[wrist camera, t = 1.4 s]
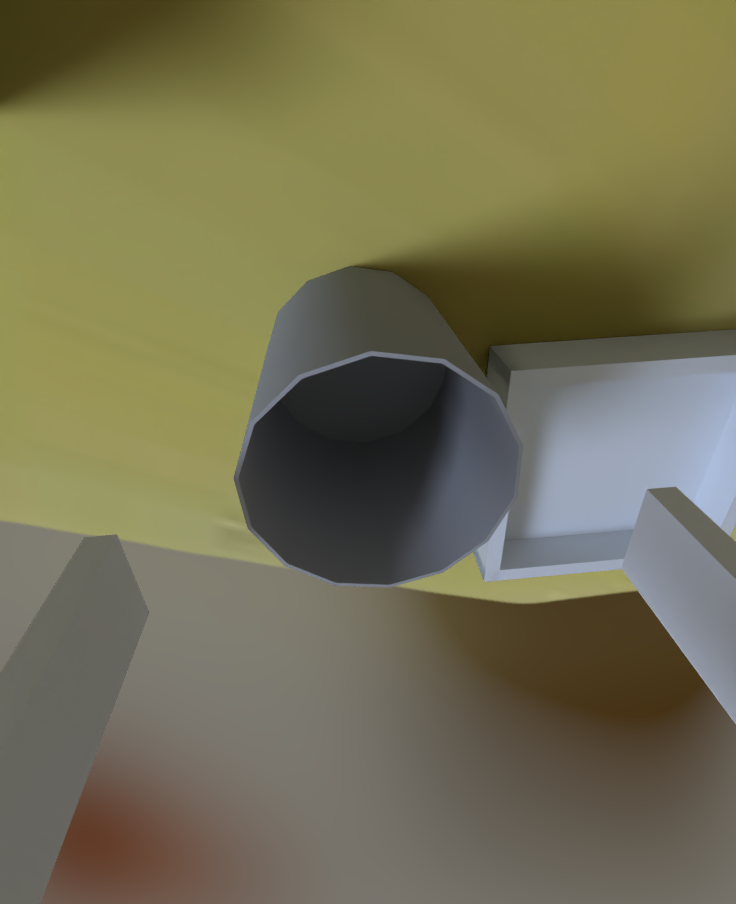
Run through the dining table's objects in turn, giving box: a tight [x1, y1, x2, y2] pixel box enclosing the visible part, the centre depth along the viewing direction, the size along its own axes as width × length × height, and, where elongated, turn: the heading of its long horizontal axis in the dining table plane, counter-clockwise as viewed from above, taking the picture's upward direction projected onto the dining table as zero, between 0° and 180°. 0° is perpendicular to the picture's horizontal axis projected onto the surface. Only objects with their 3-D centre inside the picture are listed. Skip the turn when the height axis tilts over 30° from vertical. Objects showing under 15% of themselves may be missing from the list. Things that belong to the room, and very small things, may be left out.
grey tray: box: [473, 329, 736, 582], centre depth 25 cm, size 13×14×3 cm
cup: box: [234, 266, 523, 587], centre depth 18 cm, size 8×8×10 cm
